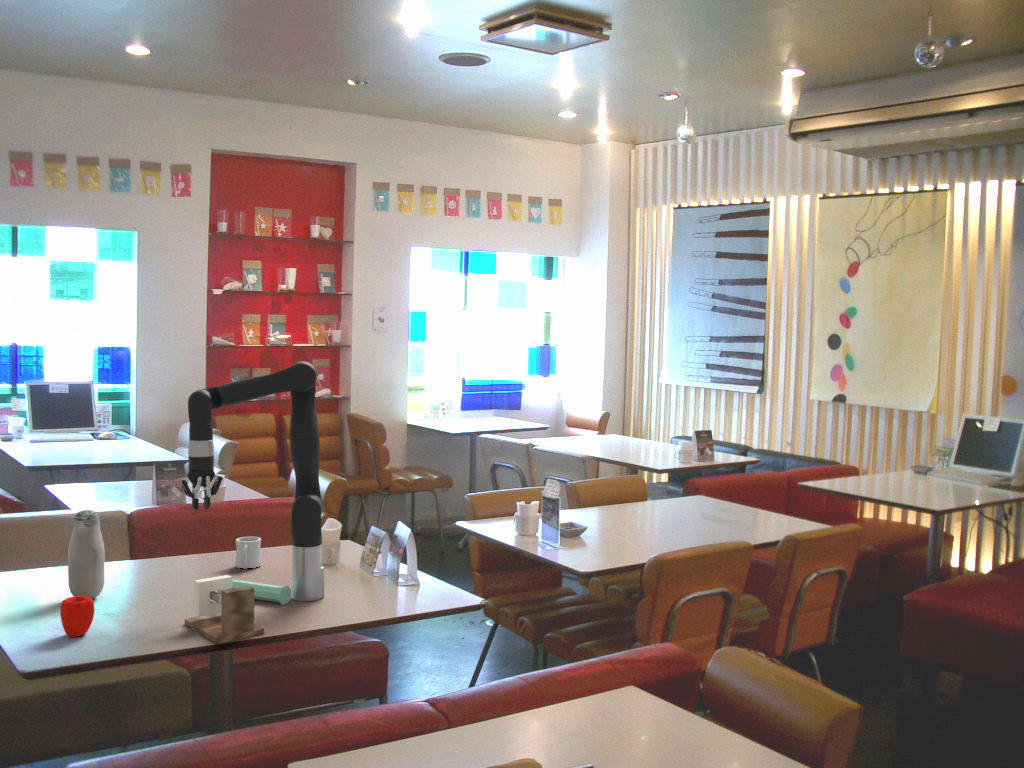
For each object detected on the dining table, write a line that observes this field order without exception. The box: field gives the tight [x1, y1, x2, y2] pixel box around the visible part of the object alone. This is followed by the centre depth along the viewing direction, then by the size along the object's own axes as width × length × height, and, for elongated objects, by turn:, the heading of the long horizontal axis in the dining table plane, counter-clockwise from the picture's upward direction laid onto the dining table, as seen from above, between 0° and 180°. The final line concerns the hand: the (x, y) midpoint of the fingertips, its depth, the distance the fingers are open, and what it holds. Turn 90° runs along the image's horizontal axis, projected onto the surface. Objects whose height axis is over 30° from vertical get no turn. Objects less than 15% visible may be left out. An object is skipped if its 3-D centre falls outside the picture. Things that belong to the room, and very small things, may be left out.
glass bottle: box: [67, 509, 106, 600], centre depth 301 cm, size 10×10×28 cm
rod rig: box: [184, 585, 265, 644], centre depth 274 cm, size 14×22×14 cm, turn 41°
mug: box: [234, 536, 262, 570], centre depth 344 cm, size 12×9×10 cm
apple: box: [59, 596, 95, 637], centre depth 267 cm, size 9×9×11 cm
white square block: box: [194, 574, 233, 617], centre depth 280 cm, size 10×3×10 cm, turn 131°
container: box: [232, 578, 292, 606], centre depth 306 cm, size 6×6×25 cm
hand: (201, 509), depth 300 cm, fingers open, 2 cm apart
